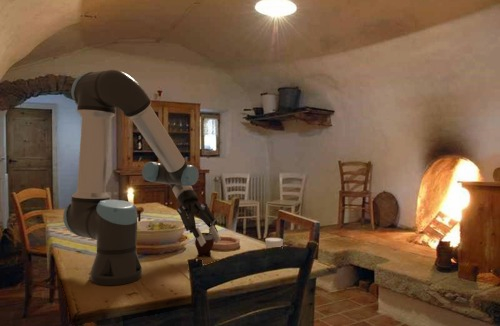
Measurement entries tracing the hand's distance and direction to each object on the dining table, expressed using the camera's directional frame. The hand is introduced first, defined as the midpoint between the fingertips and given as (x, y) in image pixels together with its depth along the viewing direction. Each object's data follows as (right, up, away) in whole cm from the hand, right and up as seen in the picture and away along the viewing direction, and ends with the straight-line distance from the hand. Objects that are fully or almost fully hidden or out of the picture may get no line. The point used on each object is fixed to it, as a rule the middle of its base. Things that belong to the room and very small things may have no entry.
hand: (211, 242), depth 144 cm
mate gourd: (-2, -6, +3) cm, 7 cm away
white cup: (+23, -6, +2) cm, 24 cm away
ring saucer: (+3, -5, +17) cm, 18 cm away
